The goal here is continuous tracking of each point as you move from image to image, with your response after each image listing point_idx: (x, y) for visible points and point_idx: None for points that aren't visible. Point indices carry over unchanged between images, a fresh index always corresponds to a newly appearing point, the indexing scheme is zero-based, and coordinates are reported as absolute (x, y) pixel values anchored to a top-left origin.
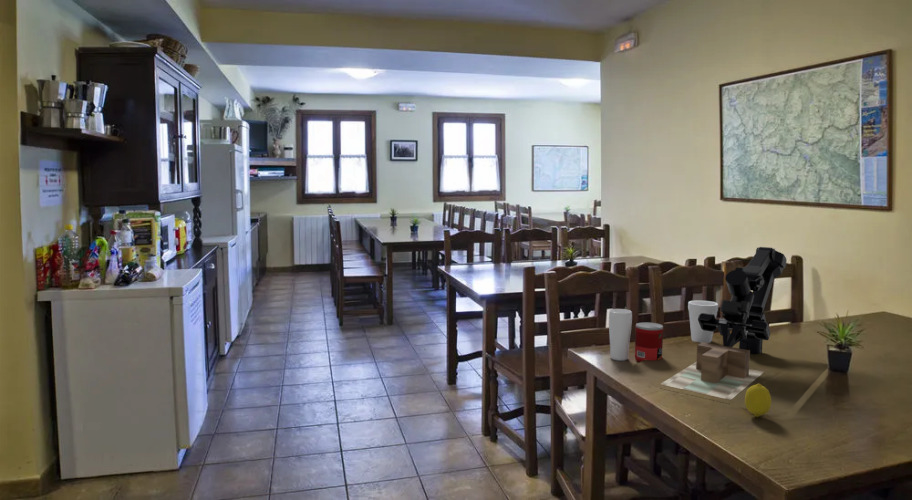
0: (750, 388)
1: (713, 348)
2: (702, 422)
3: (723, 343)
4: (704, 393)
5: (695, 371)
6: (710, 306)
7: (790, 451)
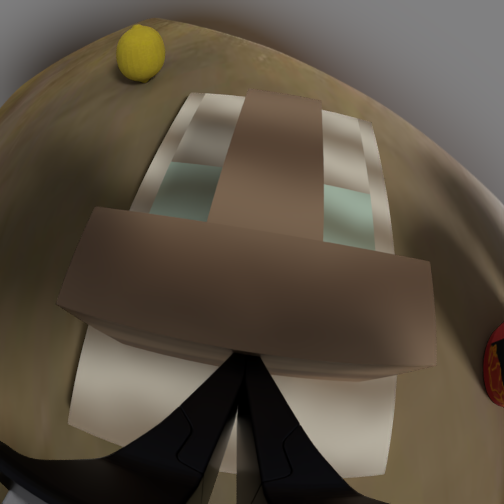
0: (153, 29)
1: (317, 224)
2: (234, 48)
3: (274, 381)
4: None
5: None
6: None
7: None
